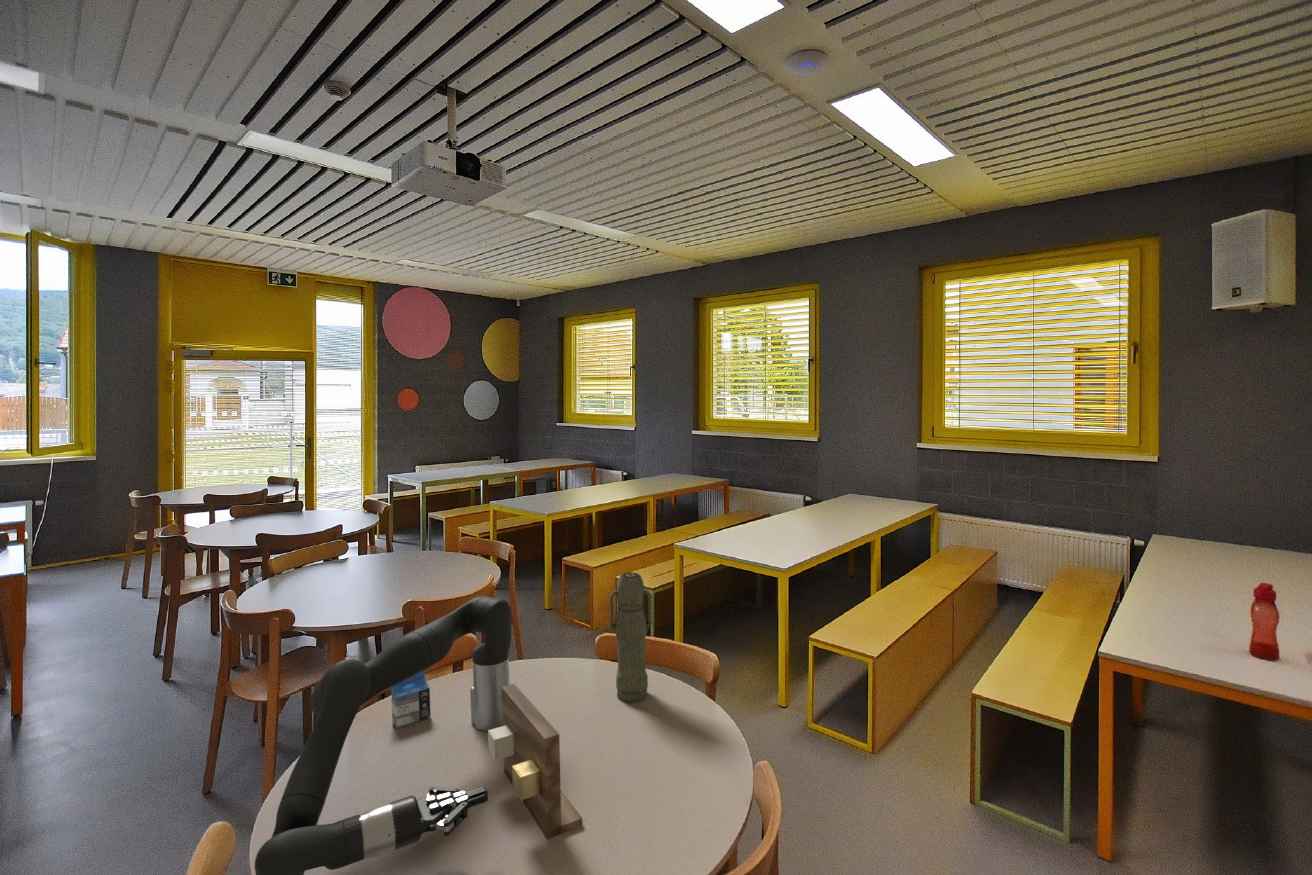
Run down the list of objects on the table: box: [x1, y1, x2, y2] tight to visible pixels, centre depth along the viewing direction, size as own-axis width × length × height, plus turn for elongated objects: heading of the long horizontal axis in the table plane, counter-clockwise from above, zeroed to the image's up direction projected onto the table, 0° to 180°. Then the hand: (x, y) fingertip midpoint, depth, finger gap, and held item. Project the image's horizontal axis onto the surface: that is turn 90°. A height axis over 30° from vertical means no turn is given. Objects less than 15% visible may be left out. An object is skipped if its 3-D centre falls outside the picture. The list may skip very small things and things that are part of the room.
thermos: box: [609, 571, 653, 704], centre depth 180 cm, size 9×12×35 cm
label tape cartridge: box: [390, 670, 432, 729], centre depth 168 cm, size 9×4×12 cm, turn 129°
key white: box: [487, 725, 514, 762], centre depth 139 cm, size 8×5×5 cm, turn 122°
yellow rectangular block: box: [512, 759, 542, 801], centre depth 126 cm, size 8×5×5 cm, turn 122°
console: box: [501, 683, 583, 840], centre depth 135 cm, size 8×26×20 cm, turn 32°
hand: (486, 793), depth 121 cm, fingers closed
